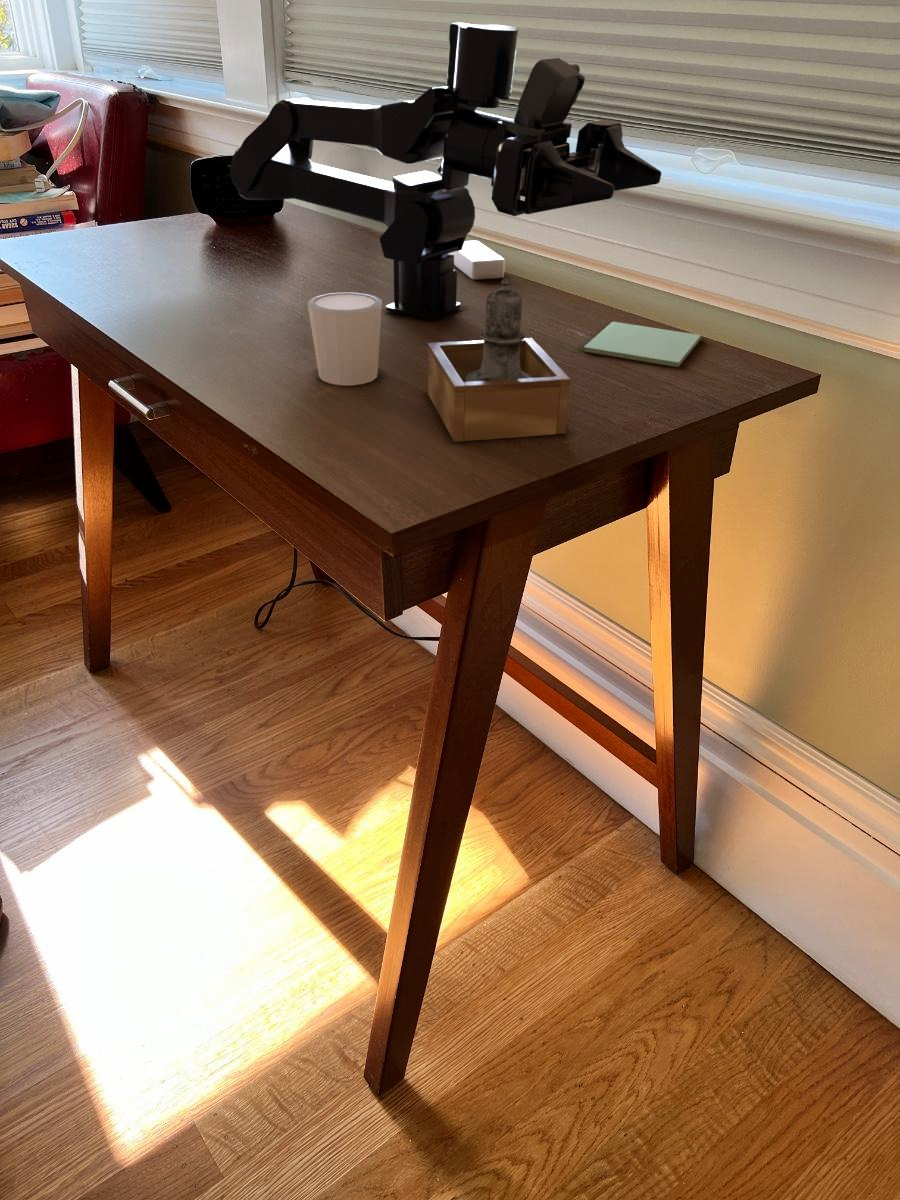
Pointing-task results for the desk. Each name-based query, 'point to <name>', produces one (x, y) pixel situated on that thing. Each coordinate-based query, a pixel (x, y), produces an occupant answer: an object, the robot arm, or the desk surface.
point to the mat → (643, 344)
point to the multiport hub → (479, 261)
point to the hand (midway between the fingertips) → (637, 184)
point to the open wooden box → (496, 393)
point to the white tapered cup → (346, 336)
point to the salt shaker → (501, 337)
